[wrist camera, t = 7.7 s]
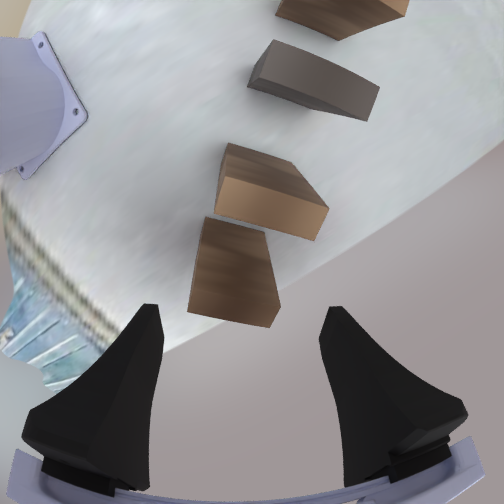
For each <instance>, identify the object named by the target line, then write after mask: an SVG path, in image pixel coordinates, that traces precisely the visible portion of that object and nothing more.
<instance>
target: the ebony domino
mask: <svg viewBox="0 0 504 504" xmlns="http://www.w3.org/2000/svg"><path fill="white" fill-rule="evenodd" d="M247 87H250V88H253V89H256V90H259V91H263V92H266V93H269V94H272V95H275V96H278V97H281V98H283V99H286V100H289V101H292V102H294V103H297V104H300V105H302V106H305V107H307V108H310V109H313V110H318V111H323V112H328V113H333V114H337V115H342V116H346V117H350V118H355V119H359V120H363V121H366V122H367V120H368V118H369V115H370V113H371V110H372V107H373V105H374V102H375V100H376V97H377V94H378V91H379V89H380V87H379V86H377V85H375V84H373V83H372V82H370V81H368V80H366V79H364V78H363V77H361V76H359V75H357V74H355V73H353V72H351V71H349V70H347V69H345V68H343V67H341V66H339V65H337V64H334V63H332V62H330V61H328V60H326V59H323V58H321V57H319V56H316V55H314V54H312V53H309V52H307V51H304V50H302V49H299V48H296V47H294V46H291V45H288V44H285V43H283V42H280V41H277V40H274V39H273V41H272V42H271V43H270V45H269V46H268V48H267V49H266V50H265V52H264V53H263V54H262V56H261V57H260V59H259V60H258V61H257V63H256V64H255V67H254V70H253V72H252V75H251V78H250V80H249V83H248V86H247Z"/></svg>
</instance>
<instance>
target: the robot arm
mask: <svg viewBox="0 0 504 504" xmlns="http://www.w3.org/2000/svg"><path fill="white" fill-rule="evenodd" d="M42 44H43V47H42V48H41V46H42ZM76 109H78V110H79V113H78V115H77V114H76V113H75V111H76ZM86 119H87V113H86V111H85V110H84V108H83V106H82V104H81V103H80V101H79V99H78V97H77V95H76V94H75V92H74V90H73V88H72V86H71V85H70V83H69V81H68V79H67V77H66V75H65V73H64V72H63V70H62V68H61V66H60V64H59V62H58V60H57V58H56V56H55V54H54V52H53V50H52V48H51V46H50V44H49V42H48V40H47V38H46V36H45V34H44V32H41V31H39V32H37V33H36V34H35V35H34V36H33V37H32V38H31V39H24V38H12V37H0V176H1V175H3V174H4V173H6V172H8V171H10V170H12V169H13V168H15V167H16V168H17V170H18V172H19V174H20V175H21V177H22V178H23V179H24V180H27V179H28V178H30V176H31V175H32V174H33V173H34V172H35V171H36V170H37V169H38V167H39V166H40V165H41V164H42V163H43V162H44V161H45V160H46V159H47V158H48V157H49V156H50V155H51V153H52V152H53V151H54V150H55V149H56V148H57V147H58V146H59V145H60V144H61V143H62V142H63V141H64V140H66V139H67V138H68V137H69V136H70V135H71V134H72V133H73V132H74V131H75V130H76V129H77V128H78V127H80V126H81V125H82V124H83V123H84V122H85V121H86ZM22 167H23V168H24V171H23V169H22ZM319 342H320V350H321V355H322V360H323V363H324V366H325V369H326V373H327V375H328V379H329V382H330V385H331V389H332V392H333V395H334V398H335V402H336V406H337V412H338V417H339V423H340V430H341V438H342V449H343V466H344V487H345V488H342V489H338V490H334V491H329V492H324V493H319V494H314V495H307V496H301V497H294V498H286V499H276V500H266V501H265V500H264V501H246V502H245V501H244V502H214V501H194V500H183V499H173V498H165V497H159V496H152V495H146V494H141V493H136V492H131V491H129V490H133V491H137V490H139V491H145V490H146V489H148V488H149V487H150V482H149V429H150V416H151V407H152V401H153V396H154V391H155V387H156V383H157V378H158V374H159V369H160V365H161V361H162V354H163V346H164V333H163V328H162V324H161V319H160V314H159V308H158V304H143V305H142V306H141V307H140V309H139V310H138V311H137V313H136V314H135V315H134V317H133V318H132V319H131V321H130V322H129V323H128V325H127V326H126V327H125V329H124V330H123V331H122V332H121V334H120V335H119V336H118V337H117V339H116V340H115V341H114V342H113V343H112V344H111V346H110V347H109V348H108V349H107V350H106V351H105V352H104V353H103V355H102V356H101V357H100V358H99V359H98V360H97V361H96V362H95V363H94V364H93V365H92V366H91V367H90V368H89V369H88V370H87V371H85V372H84V373H83V374H82V375H81V376H80V377H79V378H78V379H76V380H75V381H74V382H73V383H71V384H70V385H69V386H68V387H66V388H65V389H63V390H62V391H61V392H59V393H58V394H56V395H55V396H53V397H52V398H50V399H49V400H47V401H45V402H44V403H42V404H40V405H38V406H37V407H35V408H33V409H31V410H30V411H29V414H28V416H27V419H26V422H25V426H24V429H23V432H22V439H23V440H24V442H26V443H27V444H28V445H29V446H31V447H32V448H33V449H35V450H37V451H38V452H39V453H40V454H42V455H43V456H44V460H43V461H41V460H40V459H38V458H36V457H34V456H31V455H29V454H27V453H25V452H23V451H21V450H19V449H16V451H15V455H14V459H13V463H12V467H11V472H10V477H9V482H8V487H7V493H6V494H7V496H8V497H9V498H11V499H12V500H14V501H16V502H17V503H19V504H342V503H346V502H350V501H353V500H357V499H359V500H358V501H357V504H446V503H448V502H449V501H451V500H452V499H453V498H455V497H456V496H458V495H459V494H460V493H462V492H463V491H465V490H466V489H468V488H469V487H470V486H472V485H473V484H475V483H476V482H477V481H479V480H480V479H481V478H483V477H484V476H485V472H484V469H483V466H482V464H481V461H480V458H479V455H478V453H477V450H476V448H475V445H474V443H473V440H472V438H471V436H468V437H466V438H465V439H463V440H461V441H459V442H457V443H456V444H454V445H452V446H450V447H449V446H448V444H447V443H448V442H449V441H450V437H449V434H450V433H451V432H452V431H454V430H455V429H456V428H457V427H458V426H460V425H461V424H462V423H463V422H464V421H465V420H466V419H467V417H468V413H467V411H466V409H465V406H464V404H463V402H462V400H461V399H459V398H457V397H454V396H452V395H450V394H447V393H445V392H443V391H441V390H439V389H437V388H435V387H434V386H432V385H430V384H428V383H427V382H425V381H423V380H422V379H420V378H419V377H417V376H416V375H414V374H413V373H412V372H410V371H409V370H407V369H406V368H405V367H404V366H402V365H401V364H400V363H399V362H397V361H396V360H395V359H394V358H393V357H391V356H390V355H389V354H388V353H387V352H386V351H385V350H384V349H383V348H382V347H380V346H379V345H378V344H377V343H376V342H375V341H374V340H373V339H372V338H371V337H370V335H369V334H368V333H367V332H366V331H365V330H364V329H363V328H362V327H361V326H360V325H359V324H358V323H357V322H356V321H355V319H354V318H353V317H352V316H351V315H350V314H349V313H348V312H347V311H346V310H345V309H344V308H343V307H342V306H337V307H335V306H333V307H329V309H328V312H327V315H326V318H325V321H324V324H323V327H322V330H321V333H320V336H319Z"/></svg>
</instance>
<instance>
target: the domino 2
mask: <svg viewBox="0 0 504 504" xmlns="http://www.w3.org/2000/svg"><path fill="white" fill-rule="evenodd" d="M280 308H281V306H280V300H279V296H278V291H277V287H276V282H275V278H274V273H273V269H272V264H271V260H270V255H269V251H268V247H267V242H266V238H265V233H264V232H262V231H258V230H254V229H251V228H247V227H243V226H239V225H236V224H232V223H228V222H224V221H220V220H217V219H213V218H209V217H205V221H204V224H203V228H202V232H201V235H200V240H199V245H198V251H197V256H196V262H195V267H194V273H193V279H192V285H191V291H190V297H189V303H188V309H187V312H189V313H194V314H199V315H203V316H208V317H213V318H218V319H223V320H228V321H233V322H238V323H243V324H249V325H254V326H260V327H266V328H270V326H271V324H272V322H273V321H274V319H275V317H276V315H277V313H278V311H279V309H280Z"/></svg>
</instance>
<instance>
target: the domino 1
mask: <svg viewBox="0 0 504 504" xmlns="http://www.w3.org/2000/svg"><path fill="white" fill-rule="evenodd" d="M328 211H329V207H328V206H327V205H326V204H325V202H324V201H323V200H322V199H321V197H320V196H319V195H318V194H317V192H316V191H315V190H314V189H313V187H312V186H311V185H310V184H309V183H308V181H307V180H306V179H305V178H304V177H303V175H302V174H301V173H300V172H299V171H298V170H297V168H296V167H295V166H294V165H293V164H292V163H291V162H289V161H286V160H283V159H280V158H277V157H274V156H271V155H268V154H264V153H261V152H258V151H255V150H252V149H248V148H245V147H242V146H238V145H235V144H231V143H228V144H227V147H226V150H225V154H224V157H223V160H222V163H221V168H220V174H219V181H218V187H217V194H216V201H215V208H214V214H217V215H221V216H225V217H229V218H233V219H236V220H240V221H244V222H248V223H251V224H255V225H259V226H262V227H266V228H269V229H273V230H277V231H280V232H284V233H287V234H291V235H294V236H298V237H301V238H305V239H308V240H312V241H314V240H315V238H316V236H317V234H318V232H319V230H320V228H321V225H322V223H323V221H324V219H325V217H326V215H327V213H328Z"/></svg>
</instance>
